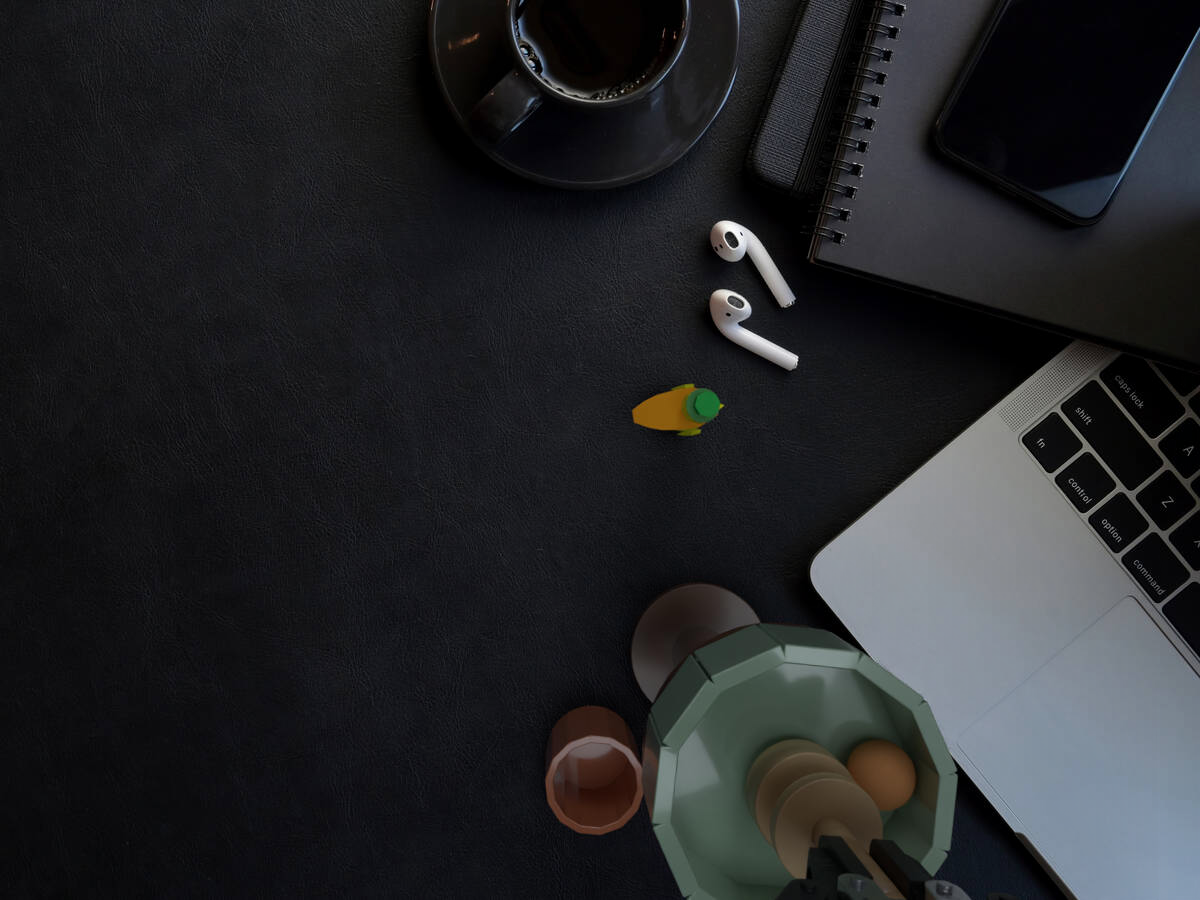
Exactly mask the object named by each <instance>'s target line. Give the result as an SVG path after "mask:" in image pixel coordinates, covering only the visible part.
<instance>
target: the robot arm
mask: <svg viewBox="0 0 1200 900" xmlns="http://www.w3.org/2000/svg"><path fill="white" fill-rule="evenodd" d="M869 855H870V856H871V857H872V859H873V860H874V861H875V862H876V863H877V865H878V866H879V867H880V868H881V869H882V871H883V872H884V873H885V874H886V876H887V877H888V878H889V879H890V880H891V882H892V883H893V884H894V885H895V886H896V888H897V889H898V890H899V891H900V892H901V894H902V895H903V896H904V897H905V899H906V900H972V899H971V897H970V896H969V894H967V893H966V892H965V891H964V890H963V889H962V888H961V887H960V886H958V885H956V884H954V883H951V882H950V881H948V880H943V879H936V878H934V876H932V875H931V874H929V872H928V871H927V870H926V869H924V867H923V866H922V865H921V864H920V862H919V861H917V860H916V859H914V858H912V857H911V856H909V855H907V854H905V853H904V852H903V851H902V850H901V849H900V848H899V847H898V845H897V844H896V843H895V842H894V841H893V840H883V839H872V840H871V842H870V847H869ZM985 898H986V900H1022V899H1021V898H1019V897H1016V896H1014V895H1012V894H1010V893H1007V892H1006V893H1005V892H989V893H987V894H986V897H985ZM905 899H894V898H888V897H887V896H886V895H885V894H884V893H883V891H882V890H881V889H880V888H879V887H878V885H877V884H876V883H875V882H874V881H873V876H872V875H871V874H870V872H869V871H868V870H867V869H866V867H865V866H864V865H863V863H862V862H861V861H860V860H859V858H858V857H857V856H856V855H855V853H854V852H853V851H852V850H851V848H850V847H849V846H848V844H847V843H846V842H845V841H844V839H843V838H842V837H841V836H831V835H821V836H820V837H819V841H818V848H815V847H810V848H809V852H808V860H807V871H806V879H794V880H791V881H790V882H789V883H788V885H787V886H786V887H785V888H784V889H783V890H782V892H781V893H780V894H779V895H778V896H777V897H776V899H775V900H905Z"/></svg>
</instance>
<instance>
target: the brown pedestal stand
mask: <svg viewBox="0 0 1200 900" xmlns="http://www.w3.org/2000/svg"><path fill="white" fill-rule="evenodd" d="M760 623H762V621H761V618H760V617H759V616H758V614H757V613H756V611H755V609H753V607H751V605H750V604H749V603H748V602H747V601H746V600H744V598H742V597H741V596H740V595H738V594H737V593H735V592H734V591H732V590H731V589H728V588H727V587H724V586H722V585H718V584H715V583H711V582H705V581H693V582H685V583H681V584H676V585H675V586H671V587H669V588H668V589H666V590H664V591H662V592H660V593H659V594H658V595H656V596H655V597H654V598H653V599H651V600H650V601H649V602H648V603H647V605H646V606H645V607H644V608H643V609H642V611H641V612H640V614H639V615H638V617H637V619H636V622H635V624H634V626H633V629H632V632H631V636H630V640H629V641H630V642H629V660H630V665H631V670H632V673H633V675H634V678H635V681H636V683H637V686H638V687H639V689H640V691H641V692H642V693H643V695H644V696H645V698H646V699H647V700H648V701H649V702H650V703H651V706H650V709H649V712H648V715H649V714H652V713H651V708H652V706H653V705H654V704H655V702H656V701H657V699H658V698H659V697H660V695H661V694H662V693H663V691H664V690H665V688H666V687H667V686H668V684H669V683H670V681H671V680H672V679H673V677H674V676H675V675H676V673H677V672H678V670H679V669H680V668H681V666H682V665H683V664H684V662H685V661H686V659H687V658H688V657H689V655H692V656H695V655H694V651H696V650H698V649H700V648H703V647H705V646H707V645H709V644H711V643H714V642H716V641H718V640H720V639H722V638H725V637H727V636H729V635H731V634H734V633H736V632H738V631H740V630H742V629H745V628H747V627H749V626H751V625H753V624H756V625H757V626H758V627H759V624H760ZM763 623H764V624H774V625H783V626H793V627H803V628H812V629H815V628H813V627H810V626H807V625H803V624H798V623H792V622H782V621H781V622H779V621H767V622H766V621H765V622H763ZM647 723H648V718H646V722H645V725H644V726H645V727H644V732H643V736H642V737H643V738H642V748H641V749H642V750H641V764H642V766H643V759H644V750H645V741H646V732H647Z"/></svg>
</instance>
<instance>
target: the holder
mask: <svg viewBox="0 0 1200 900" xmlns="http://www.w3.org/2000/svg"><path fill="white" fill-rule="evenodd" d="M545 747H546V748H545V770H544V771H545V772H544V773H545V775H544V783H545V789H546V790H545V792H546V801H547V804H548V806H549V808H550V809H551V810H552V812H553V813H554V815H555V817H556V819H557V820H558V821H559V822H560V823H561V824H562V825H565V826H567V828H569V829H571V830H573V831H575V832H576V833H578V834H585V835H596V836H601V835H605V834H607V833H611V832H613V831H616V830H618V829H622V827H624V826H625V825H626V824H627V823H628V822H629V821H630V820H631V819H632V818H633V816H634V815H636V814H637V812H638V811H639V809H640V807H641V802H642V800H643V797H644V792H643V788H642V782H641V777H642V768H643V765H642V760H641V757H640V753H639V750H638V747H637V743H636V739H635V736H634V734H633V732H632V730H631V729H630V727H629V725H628V723H627V722H626V721H625V720H624V718H623V717H621V716H620V715H619V714H618V713H616V712H615V711H613V710H611V709H609V708H607V707H603V706H599V705H583V706H579V707H577V708H574V709H572V710H570V711H568V712H566V713H565V714H564V715H562V716H561V717H560V718H559V719H558V720H557V722H556V723H555V724H554V726H553V728H552V729H551V731H550V734H549V736H548V740H547V744H546V746H545Z"/></svg>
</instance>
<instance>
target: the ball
mask: <svg viewBox="0 0 1200 900" xmlns="http://www.w3.org/2000/svg"><path fill="white" fill-rule="evenodd" d="M846 769H847V770H848V771H849V772H850V774H851V775H852V777H853V779H854V781H855V782H856V783H857V784H858V785H859V786H861V787H862V789H863V790H864V791H865V792H866V793H867V794H868V795H869V796H870V797H871V798H872V800H873V801H874V803H875V804H876V806H877V808H878V810H879V811H890V810H894V809H897V808H899V807H901V806H903V805H904V804H905V803H906V802H907V801H908V800H909V799H910V798H911V796H912V794H913V792H914V790H915V786H916V771H915V767H914V765H913V762H912V760H911V759H910V757H909V756H908V754H907V753H906V752H905V751H904V750H903V749H902V748H900V747H899V746H897V745H896V744H894V743H892V742H889V741H886V740H870V741H867V742H864V743H862V744H860V745H859V746H858V747H856V748H855V749H854V751H853V752H852V753H851V755H850V756H849V759H848V761H847V765H846Z"/></svg>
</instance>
